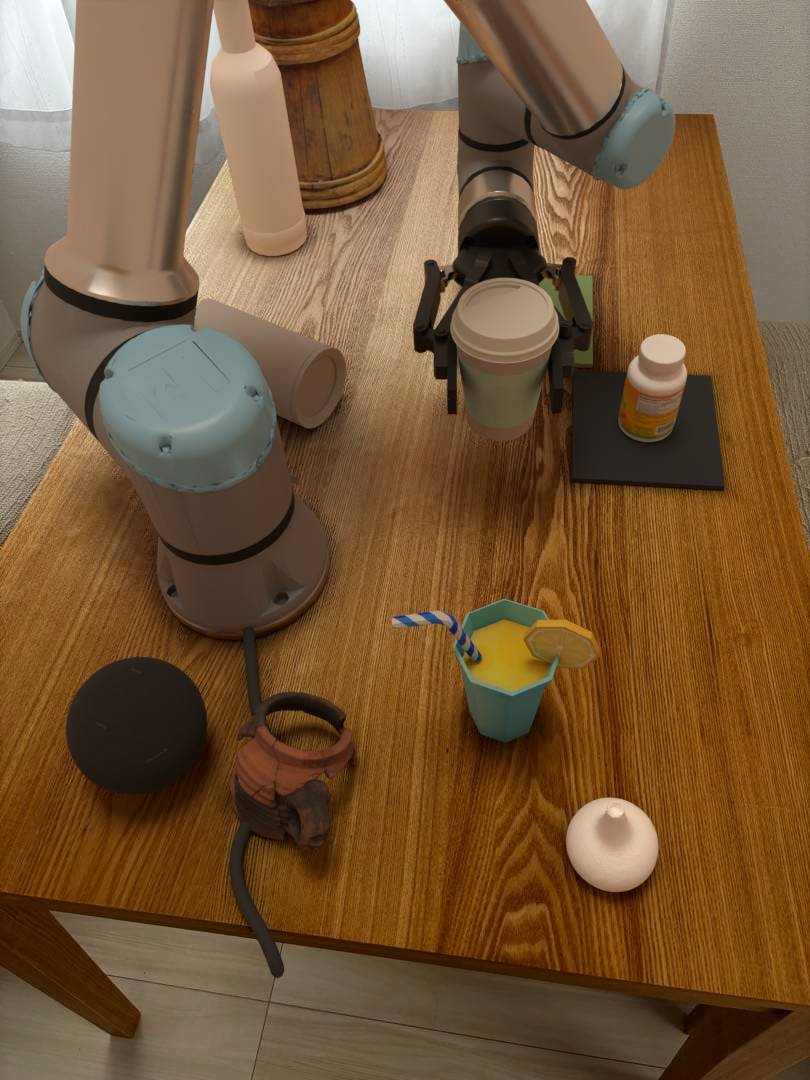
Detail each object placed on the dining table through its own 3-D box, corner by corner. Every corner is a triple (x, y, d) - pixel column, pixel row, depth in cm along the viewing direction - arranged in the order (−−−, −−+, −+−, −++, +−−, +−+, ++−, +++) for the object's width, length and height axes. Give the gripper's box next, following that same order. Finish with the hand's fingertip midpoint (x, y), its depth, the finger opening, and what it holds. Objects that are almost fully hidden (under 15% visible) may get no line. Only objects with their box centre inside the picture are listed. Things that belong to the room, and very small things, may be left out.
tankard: (239, 212, 113) (191, 3, 93) (279, 120, 127) (244, -80, 107) (376, 216, 111) (356, 2, 91) (401, 121, 124) (388, -82, 104)
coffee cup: (549, 385, 79) (560, 273, 69) (548, 455, 74) (561, 345, 64) (454, 382, 80) (453, 272, 70) (448, 451, 74) (446, 342, 65)
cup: (404, 760, 67) (390, 667, 55) (404, 670, 72) (391, 566, 60) (586, 755, 66) (612, 661, 54) (574, 665, 71) (596, 560, 59)
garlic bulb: (654, 903, 60) (676, 869, 53) (562, 889, 61) (573, 854, 54) (653, 813, 63) (674, 771, 57) (566, 802, 64) (577, 759, 58)
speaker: (188, 828, 65) (149, 778, 57) (70, 795, 67) (16, 742, 59) (239, 709, 70) (210, 648, 62) (129, 682, 72) (87, 619, 64)
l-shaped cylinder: (295, 308, 98) (125, 370, 94) (288, 239, 89) (99, 304, 84) (364, 427, 92) (185, 500, 87) (364, 367, 82) (164, 445, 78)
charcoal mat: (723, 490, 81) (724, 486, 80) (571, 481, 83) (572, 477, 82) (710, 379, 90) (711, 375, 89) (573, 373, 91) (573, 369, 91)
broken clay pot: (208, 772, 68) (224, 689, 64) (318, 754, 72) (339, 677, 69) (256, 897, 59) (278, 810, 55) (379, 868, 64) (406, 786, 60)
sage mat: (592, 368, 92) (593, 363, 91) (460, 362, 93) (460, 358, 93) (592, 280, 101) (592, 275, 100) (471, 276, 102) (471, 272, 102)
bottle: (285, 212, 112) (236, -52, 88) (320, 238, 108) (280, -31, 84) (233, 238, 110) (168, -28, 86) (268, 265, 106) (210, -5, 82)
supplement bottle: (622, 400, 88) (637, 324, 80) (676, 410, 87) (697, 333, 79) (613, 438, 85) (628, 362, 77) (669, 448, 84) (689, 373, 76)
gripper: (601, 263, 84) (628, 434, 71) (392, 268, 86) (379, 435, 72) (612, 192, 78) (644, 363, 65) (387, 198, 80) (371, 367, 66)
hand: (504, 401), depth 68 cm, fingers closed on coffee cup, 8 cm apart
